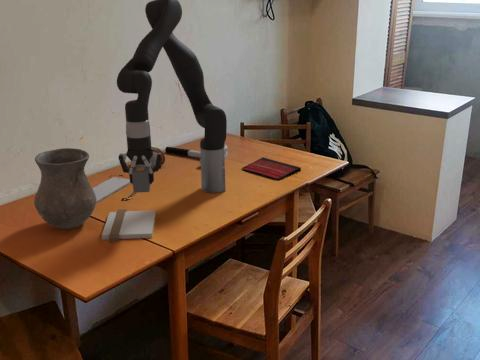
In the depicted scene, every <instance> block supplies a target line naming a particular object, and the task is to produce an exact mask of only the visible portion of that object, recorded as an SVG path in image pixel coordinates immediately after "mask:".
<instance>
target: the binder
mask: <svg viewBox="0 0 480 360" xmlns="http://www.w3.org/2000/svg"><path fill="white" fill-rule="evenodd" d="M241 171H243V172H248V173H251V174H256V175H259V176H263V177H266V178H269V179H270V180H273V181H281V180H284V179H285V178H288V177H291V176H293V175H295V174H296V171H299V172H301V171H302V167H300V166H298V165H297V166H296V165H292V164H289V163H284V162H281V161H278V160H274V159H270V158H266V157H264V156H263V157H260V158H259V159H257V160H255V161H253V162H251V163H250V164H247V165H245V166H243V167H242V168H241Z"/></svg>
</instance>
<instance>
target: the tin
mask: <svg viewBox="0 0 480 360" xmlns="http://www.w3.org/2000/svg"><path fill="white" fill-rule="evenodd" d="M151 149H152V151H153V152H155V153H158V152H161V159H160V164H159V167H160V166H161V167H162V166H163V165H164V164H165V162H166V156H165V153H164V151H163V150H161V149H160V148H158V147H153V146H151ZM150 162H151V165H152V167H155V165H156V160H155V159H154V156H152V157H151V159H150Z"/></svg>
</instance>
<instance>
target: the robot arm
mask: <svg viewBox="0 0 480 360" xmlns="http://www.w3.org/2000/svg"><path fill="white" fill-rule="evenodd" d="M144 11H145V17H146V20H147V21H148V23H149V26H150V27H151V30H150V31H149V32H148V33H147V34H146V35H145V36H144V37H143V38H142V39H141V41H140V42H139V43H138V45H137V47H136V49H135V52H134V53H133V56H132V57H131V59H130V60H129V61H128V62H127V63H126V64H124V66H123V67H122V68H121V69H120V70H119V72H118V74H117V78H116V86H117V88H118V90H119V91H120V92H122V93H124V94H135V95H137V99H133V100H128V101H127V102H125V104H124V111H125V113H124V114H125V136H126V146H127V151H126V152H125V153H119V155H118V161H119V164H120V167H121V169H122V172H123V173H124V174H125V173H127V174H129V175H128V176H129V179H130V184H132V186H133V179H132V170H133V169H134V167H135V165H139V164H142V165H146V167H147V169H149V182H150V184H151V185H152V183H154V181H155V180H154V179H155V178H154V177H155V176H154V174H155V172H156V173H158V172H159V169H160V166H159V164H160V159H161V152H158V153H155V152H153V151H152V149H151V147H152V140H151V139H152V136H151V125H150V120H149V101H150V96H151V91H152V86H153V79H152V75H150V72H151V71H152V70H153V69H154V66H155V64H156V62H157V60H158V57H159V55H160V53H161V51H162V49H163V50H164V52H165V54H166V56H167V58H168V60H169V62H170V64H171V65H172V69H173V70H174V73H175V75H176V78H177V79H178V81H179V83H180V85H181V86H182V89H183V91H184V93H185V95H186V97H187V99H188V102H189V103H190V106H191V109H192V112H193V114H194V117H195V120H196V123H197V124H198V125H199V126H200V127H201V128H203V129H204V136H203V138H201V140H200V141H199V147H200V148H199V149H200V152H201V158H200V159H201V164H200V177H201V180H200V181H201V190H202V191H203V192H205V193H210V194H215V193H216V194H217V193H221V192H226V166H225V164H226V163H225V162H226V159H225V156H224V147H225V142H226V140H227V131H228V130H227V127H228V126H227V123H228V122H227V121H228V120H227V114H226V112H225V111H224V110H223V109H222V108H221V107H218V106H215V105H213V103H212V101H211V100H210V98H209V95H208V94H207V92H206V88H205V78H204V72H203V68H202V66H201V64H200V62H199V59H198V58H197V56H196V54H195V52H193V51H192V50H191V49H190V48H189V47H188V46H187V45H186V44H184V43H183V42H182V41H180V39H178V38H177V37H176V36H175V34H174V31H175V30H176V27H177V26H178V24H179V23H180V21H181V19H182V16H183V9H182V4H181V2H180V1H179V0H151V1H148V2H147V3H146V5H145V10H144ZM152 156H154V159H155V160H156V165H155V167H154V166H152V165H151V162H150V159H151V157H152ZM127 158H128V160H130V161H131V163H130V167H128V165H127V163H126V160H127Z"/></svg>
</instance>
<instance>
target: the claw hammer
mask: <svg viewBox="0 0 480 360" xmlns="http://www.w3.org/2000/svg"><path fill="white" fill-rule="evenodd" d="M164 149H165V150H164V151H165V153H166V154H171V155H175V156H176V155H178V156H184V157H194V158H200V159H199V165H201V152H200V151H199V150H192V149H187V148H181V147H180V148H179V147H172V146H166V147H165V148H164ZM224 156H225V160H227V158H228V156H229V155H228V145H227V144H224Z"/></svg>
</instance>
